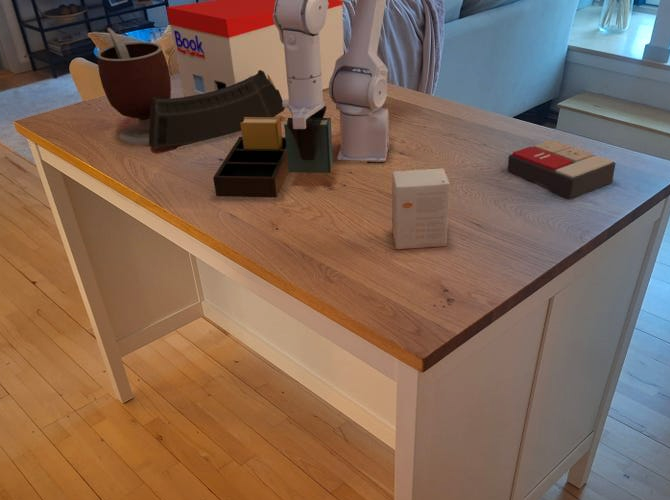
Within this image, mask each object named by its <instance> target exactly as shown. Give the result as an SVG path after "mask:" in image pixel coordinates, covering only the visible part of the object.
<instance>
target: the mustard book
mask: <svg viewBox="0 0 670 500" xmlns="http://www.w3.org/2000/svg"><path fill="white" fill-rule="evenodd" d="M240 124H241V131H240V132H241V137H242V138H243V146H244V149H283V142H282V137H283V132H282V123H281V117H277V116H274V117H244V121H243V122H241V123H240Z"/></svg>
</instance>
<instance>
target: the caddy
mask: <svg viewBox="0 0 670 500" xmlns="http://www.w3.org/2000/svg"><path fill="white" fill-rule="evenodd" d="M282 142H283V149H244V146H243V138H242V136H239V137H238V138H237V140H236V142H235V143H234V145H233V146H232V148H231V149H230V150H229V152H228V154H227V155H226V157H225V158H224V160H223V161H222V162H221V165H220V166H219V167H218V169H217V171H216V173H215V174H214V176H213V177H212V180H213V184H214V192H215V197H228V198H229V197H231V198H232V197H234V198H236V197H237V198H277V197H278V196H279V194H280V191H281V190H282V187H283V184H284V183H285V180H286V178H287V176H288V175H289V174H288V173H290V172H289V169H288V159H287V148H286V138H285V136H282Z"/></svg>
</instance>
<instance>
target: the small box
mask: <svg viewBox="0 0 670 500" xmlns="http://www.w3.org/2000/svg"><path fill="white" fill-rule="evenodd" d="M450 188H451V183H450V180H449V179H448V176H447V174H446V172H445V168H444V167H438V168H424V169H411V170H410V169H409V170H396V171H392V173H391V190H392V191H391V196H392V197H391V216H392V217H391V224H392V225H391V233H392V239H393V243H394V248H395V250H409V249H423V248H425V249H426V248H437V247H446V246H447V241H448V221H449V209H450V208H449V207H450V190H451V189H450Z"/></svg>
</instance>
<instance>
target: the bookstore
mask: <svg viewBox="0 0 670 500" xmlns="http://www.w3.org/2000/svg"><path fill="white" fill-rule="evenodd" d="M275 2H276V0H208V1H199V2H193V3H192V2H191V3H186V4H178V5H172V6H166V13H167V18H168V24H169V26H170V30H171V31H170V32H171V36H172V37H171V38H172V42H173V48H174V52H175V57H176V63H177V68H178V73H179V78H180V84H181V89H182V90H181V91H182V95H183V97H187V96H192V95H198V94H204V93H208V92H212V91H216V90H219V89H222V88H225V87H229V86H231V85H234V84H236V83H239V82H241V81H243V80H245V79H248V78H249V77H251V76H254V75H256V74H257V73H258V71H259V70H262V71H264V73H265V75H266V77H267V79H268V75H269V76H270V78H271V79H272V81H273V83H274V85H275V87H276V89H278V90H279V92H280V95H281V98H282V100H283V101H284V100H286V99H289V95H288V84H287V74H286V63H285V52H284V44H283V43H282V42H281V41H280V35H279V31H278V29H277V27H276V26H275V23H274V20H273V14H274V6H275ZM328 3H329V5H328V9H327V11H326V20H325V24H324V27H323V28H322V29H321V31H320V32H319V40H320V56H321V73H322V90H324V91H325V90H326V89H329V82H330V79H331V76H332V74H333V72H334V68H335V64H336V60H337V59H338V58H340V57H341V56H342V55H344V54H345V46H344V42H345V41H344V17H343V16H344V14H343V12H344V11H343V5H344V2H343V0H328Z"/></svg>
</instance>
